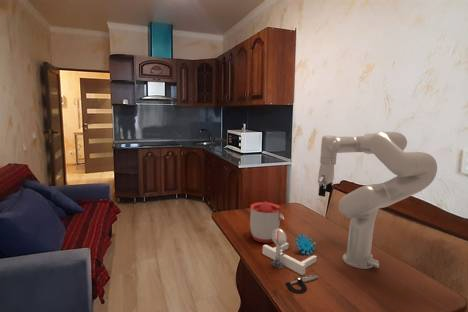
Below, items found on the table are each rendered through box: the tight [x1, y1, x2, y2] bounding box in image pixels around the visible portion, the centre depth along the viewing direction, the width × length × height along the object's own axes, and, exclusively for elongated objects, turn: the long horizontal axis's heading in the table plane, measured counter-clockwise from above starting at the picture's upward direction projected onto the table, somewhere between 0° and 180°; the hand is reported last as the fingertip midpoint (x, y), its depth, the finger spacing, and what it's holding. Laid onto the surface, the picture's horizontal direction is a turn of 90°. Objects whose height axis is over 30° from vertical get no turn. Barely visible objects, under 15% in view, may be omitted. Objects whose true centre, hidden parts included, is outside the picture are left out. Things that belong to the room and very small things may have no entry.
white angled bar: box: [262, 241, 317, 276], centre depth 127 cm, size 22×14×4 cm, turn 41°
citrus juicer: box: [249, 201, 285, 244], centre depth 146 cm, size 16×17×20 cm
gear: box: [295, 233, 317, 256], centre depth 136 cm, size 11×6×10 cm
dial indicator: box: [269, 227, 288, 270], centre depth 121 cm, size 7×6×16 cm
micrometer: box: [285, 274, 319, 295], centre depth 108 cm, size 15×7×2 cm, turn 114°
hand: (325, 194), depth 144 cm, fingers open, 9 cm apart
